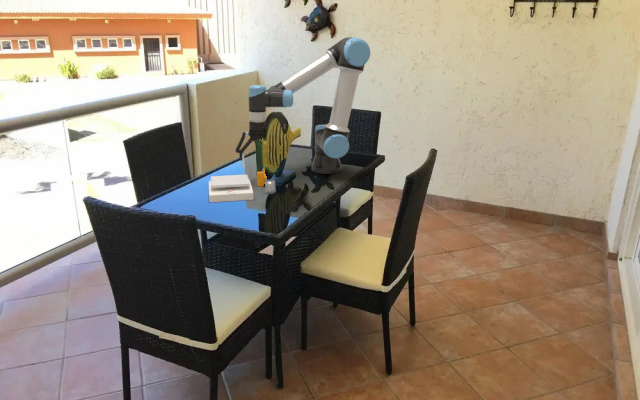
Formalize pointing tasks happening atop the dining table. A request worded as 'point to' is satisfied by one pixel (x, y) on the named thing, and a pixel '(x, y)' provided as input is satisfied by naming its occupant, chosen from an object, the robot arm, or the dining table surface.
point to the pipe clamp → (261, 178)
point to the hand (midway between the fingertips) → (258, 166)
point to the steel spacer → (270, 187)
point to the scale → (230, 188)
